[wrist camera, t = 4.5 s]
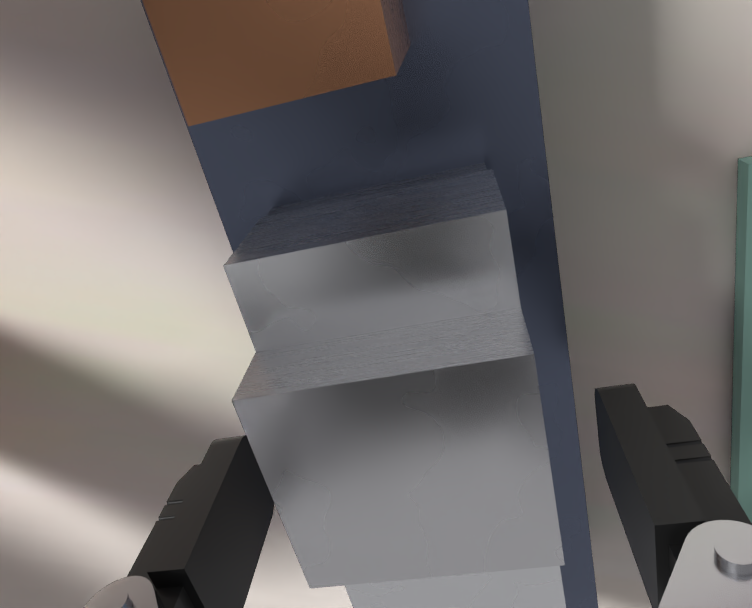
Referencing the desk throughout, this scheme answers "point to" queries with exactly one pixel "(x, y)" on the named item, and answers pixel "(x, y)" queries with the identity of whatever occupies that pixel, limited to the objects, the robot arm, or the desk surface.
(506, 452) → the lever cap
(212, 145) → the body
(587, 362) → the desk surface
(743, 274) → the green mat
